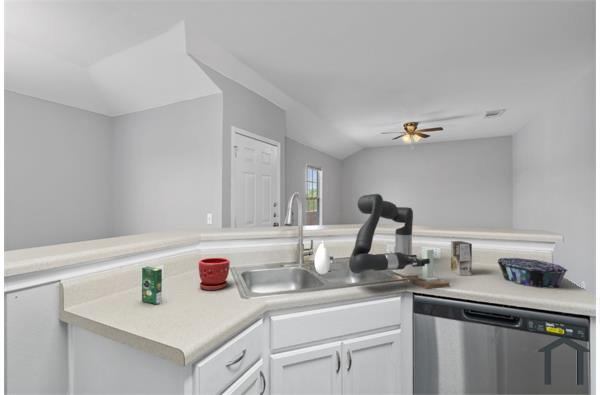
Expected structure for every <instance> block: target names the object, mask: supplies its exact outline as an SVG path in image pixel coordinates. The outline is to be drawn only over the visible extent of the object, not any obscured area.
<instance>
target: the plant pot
mask: <svg viewBox="0 0 600 395" xmlns="http://www.w3.org/2000/svg"><path fill="white" fill-rule="evenodd" d="M230 262H231V261H230V259H228V258H223V257H207V258H203V259H200V260H199V261H198V273H199V278H200V281H201V282H199V287H200V288H201V289H204V290H205V291H206V290H208V291H213V290H214V291H215V290H220V289H223V288H224V287H226V286H227V284H228V282H227V278H228V276H229V273H230V265H231V264H230Z"/></svg>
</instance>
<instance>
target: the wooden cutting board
mask: <svg viewBox="0 0 600 395" xmlns="http://www.w3.org/2000/svg"><path fill="white" fill-rule="evenodd" d="M418 275H419V274H413V275H404V279H405V278H406V279H407V280H406V281H408V280H409V281H408V282H410V283H412V284H415V285H417V286H419V287H421V288H424V289H426V290H430V289H437V288H445V287H446V288H447V287H449V286H450V282H448V281H445V280H442V279H440V278H437V279H438V281H432V282H428V281H425V280H423V279H420V278H418ZM420 275H422V273H420Z"/></svg>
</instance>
